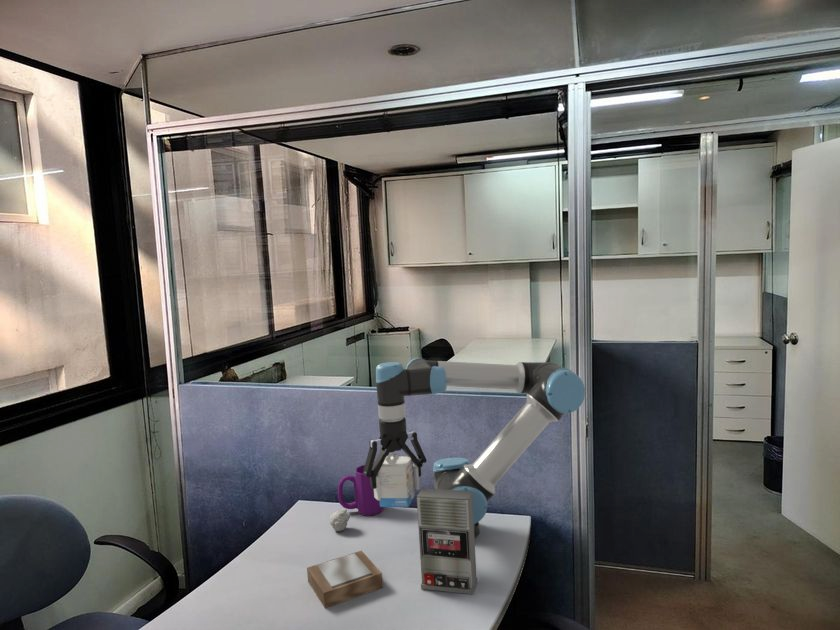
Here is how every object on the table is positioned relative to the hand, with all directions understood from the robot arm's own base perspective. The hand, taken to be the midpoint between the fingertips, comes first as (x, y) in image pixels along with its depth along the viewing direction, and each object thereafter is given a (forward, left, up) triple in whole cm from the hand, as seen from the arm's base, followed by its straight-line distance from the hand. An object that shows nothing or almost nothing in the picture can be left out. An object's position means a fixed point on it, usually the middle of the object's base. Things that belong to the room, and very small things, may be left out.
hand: (397, 493), depth 159 cm
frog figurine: (+8, -28, -20) cm, 36 cm away
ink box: (0, 0, -2) cm, 2 cm away
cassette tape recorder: (-5, +18, -20) cm, 28 cm away
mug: (-3, -37, -20) cm, 42 cm away
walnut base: (+18, +2, -20) cm, 27 cm away
